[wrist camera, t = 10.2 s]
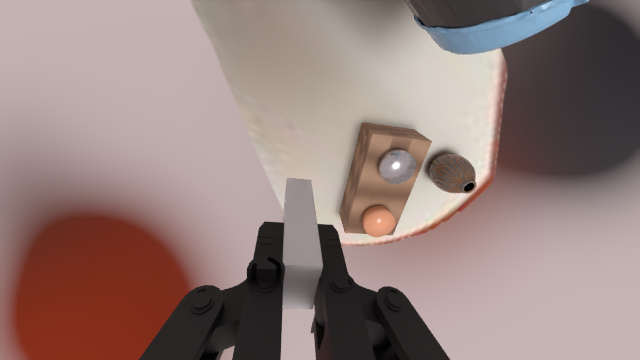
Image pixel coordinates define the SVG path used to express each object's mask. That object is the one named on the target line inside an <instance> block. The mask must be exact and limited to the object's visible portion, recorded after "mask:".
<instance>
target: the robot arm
mask: <svg viewBox="0 0 640 360" xmlns="http://www.w3.org/2000/svg"><path fill="white" fill-rule="evenodd" d="M404 1H405V2H406V4H407V5H408V7H409V8H410V9H411V11H412V12H413V14H414V19H415V21H416V22H417V24H418V25H419V26H420V27H421V28H423V29H425V30H426V31H427V32H428V33H429V35H430V36H431V37H432V38H433V40H434V41H435V42H436V43H437V45H438V46H439V47H441V48H442V49H444V50H446V51H450V52H452V53H455V54H477V53H483V52H488V51H492V50H495V49H499V48H502V47H505V46H508V45H510V44H513V43H516V42H518V41H521V40H523V39H525V38H527V37H530V36H532V35H534V34H536V33H538V32H540V31H542V30H544V29H545V28H547V27H549V26H551V25H553V24H554V23H556V22H558V21H559V20H561V19H563V18H564V17H566V16H567V15H568V14H569V12H570V9H571V7H573V6H576V5H580V4H583V3H586V2H587V1H589V0H404ZM313 305H314V306H315V316H314V320H313V323H312V328H311V333H314V338H315V352H316V360H450V359H449V358H448V356H447V354H446V353H445V352H444V350H443V349H442V347H441V346H440V344H439V343H438V342H437V340H436V339H435V337H434V336H433V334H432V333H431V331H430V330H429V329H428V327H427V326H426V324H425V323H424V321H423V320H422V319H421V317H420V316H419V314H418V313H417V311H416V310H415V309H414V307H413V306H412V304H411V303H410V301H409V300H408V298H407V297H406V296H405V295H404V294H403V293H402V292H400V291H399V290H398V289H396V288H393V287H382V288H381V289H379V291H378V292H375V291H373V290H369V289H366V288H363V287H361V286H359V285H358V284H356V283H355V282H354V280H353V279H352V278H351V277H350V276H349V274H348V272H347V267H346V263H345V259H344V255H343V251H342V248H341V243H340V239H339V235H338V232H337V230H336V229H335V228H334V226H333V225H325V224H317V219H316V212H315V205H314V197H313V190H312V183H311V180H305V179H294V178H287V183H286V193H285V202H284V212H283V223H279V222H264V223H263V225H261V227H260V228H259V231H258V237H257V242H256V247H255V253H254V259H253V260H252V261H251V262H250V263H249V266H248V268H247V279H246V280H245V281H244V282H242V283H241V284H239V285H237V286H234V287H232V288H229V289H225V290H220V289H219V288H217V287H215V286H212V285H211V286H210V285H204V286H200V287H197V288H195V289H193V290H192V291H190V292H189V293H188V294H187V295H186V296H185V297H184V298H183V299H182V301H181V302H180V303H179V305H178V306H177V307H176V309H175V310H174V311H173V313H172V314H171V316H170V317H169V319H168V320H167V321H166V323H165V324H164V325H163V327H162V328H161V330H160V331H159V332H158V334H157V335H156V337H155V338H154V339H153V341H152V342H151V344H150V345H149V346H148V348H147V349H146V350H145V352H144V353H143V355H142V356H141V357H140V359H139V360H219V359H220V357H221V355H222V353H223V350H224V349H227V348H229V347H232V346H235V348H234V354H233V359H232V360H280V358H281V331H282V309H313Z"/></svg>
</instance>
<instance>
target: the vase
mask: <svg viewBox="0 0 640 360" xmlns="http://www.w3.org/2000/svg"><path fill="white" fill-rule="evenodd" d="M429 174H430V177H431V180H432V181H433V183H434V184H435V185H436V186H437V187H438V188H440V189H441V190H443V191H446V192H449V193H471V192H472V191H474V190H475V188H476V182H475V170H474V168H473V166H472V165H471V163H470V162H469V161H468V160H467V159H465V158H463V157H462V156H459V155H456V154H444V155H441V156H439V157H437V158H436V159H435V160H434V161H433V162H432V164H431V166H430V169H429Z"/></svg>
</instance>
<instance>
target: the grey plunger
mask: <svg viewBox="0 0 640 360" xmlns="http://www.w3.org/2000/svg"><path fill="white" fill-rule="evenodd" d="M377 168H378V172H379V173H380V175H381V176H382V178H383V179H384V180H385V181H386V182H387V183H390V184H400V183H403V182H405V181H407V180H408V179H409V178H410V177H411V176H412V175H413V174H414V172H415V169H416V161H415V159H414V157H413V156H412V155H411V154H410V153H408V152H407V151H406V150H405V149H402V148H392V149H389V150H387V151H386V152H385V153H383V154H382V156H381V157H380V158H379V161H378V164H377Z"/></svg>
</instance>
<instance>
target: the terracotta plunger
mask: <svg viewBox="0 0 640 360" xmlns="http://www.w3.org/2000/svg"><path fill="white" fill-rule="evenodd" d="M362 224H363V226H364V229H365V231H366V233H367V234H368V235H370V236H373V237H381V236H384V235H386V234H388V233H390V232H391V231H392V230H393V228H394V226H395V218H394V217H393V215H392V213H391V212H390V210H389V209H388V208H386V207H384V206H375V207H372V208H370V209H368V210H367V211H366V212H365V213H364V215H363V217H362Z"/></svg>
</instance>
